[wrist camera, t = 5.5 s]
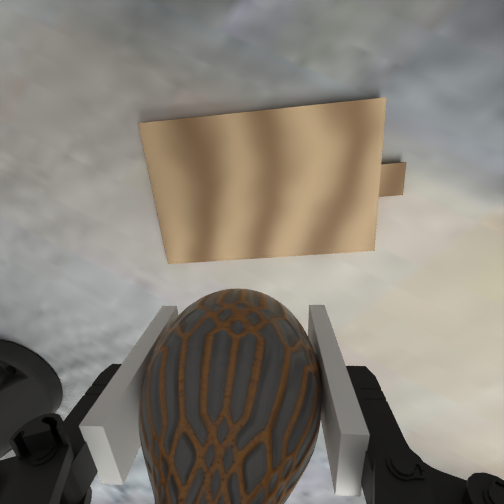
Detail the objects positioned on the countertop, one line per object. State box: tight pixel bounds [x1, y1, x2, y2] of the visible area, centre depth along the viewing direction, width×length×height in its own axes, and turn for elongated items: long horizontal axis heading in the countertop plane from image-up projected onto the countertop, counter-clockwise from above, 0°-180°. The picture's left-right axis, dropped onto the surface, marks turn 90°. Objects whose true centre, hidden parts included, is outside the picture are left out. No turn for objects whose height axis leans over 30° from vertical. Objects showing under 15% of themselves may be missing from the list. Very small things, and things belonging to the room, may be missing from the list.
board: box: [138, 97, 406, 264], centre depth 26 cm, size 24×14×1 cm, turn 95°
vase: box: [138, 289, 322, 504], centre depth 10 cm, size 7×7×9 cm
